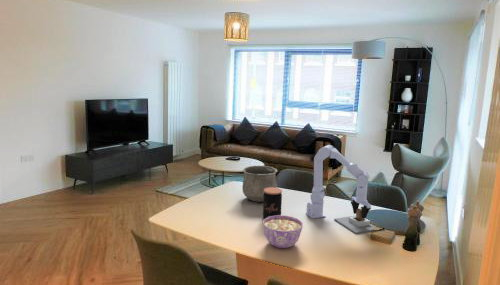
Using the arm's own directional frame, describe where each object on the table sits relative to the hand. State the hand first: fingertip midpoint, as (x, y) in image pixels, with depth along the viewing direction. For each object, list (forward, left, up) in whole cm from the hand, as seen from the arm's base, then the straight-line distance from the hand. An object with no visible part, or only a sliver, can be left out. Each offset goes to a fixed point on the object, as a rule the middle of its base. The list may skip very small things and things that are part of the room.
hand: (359, 215), depth 208 cm
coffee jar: (-45, +23, -6) cm, 51 cm away
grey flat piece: (0, 0, -5) cm, 5 cm away
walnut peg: (0, 0, -4) cm, 4 cm away
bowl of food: (-54, -8, -6) cm, 55 cm away
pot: (-39, +56, -6) cm, 68 cm away
